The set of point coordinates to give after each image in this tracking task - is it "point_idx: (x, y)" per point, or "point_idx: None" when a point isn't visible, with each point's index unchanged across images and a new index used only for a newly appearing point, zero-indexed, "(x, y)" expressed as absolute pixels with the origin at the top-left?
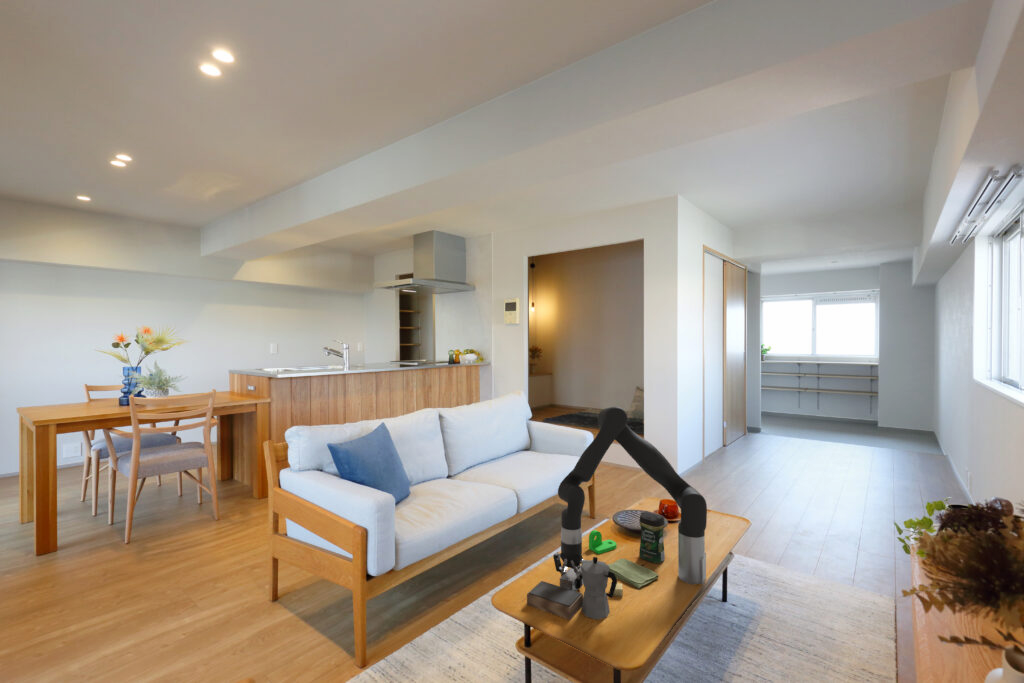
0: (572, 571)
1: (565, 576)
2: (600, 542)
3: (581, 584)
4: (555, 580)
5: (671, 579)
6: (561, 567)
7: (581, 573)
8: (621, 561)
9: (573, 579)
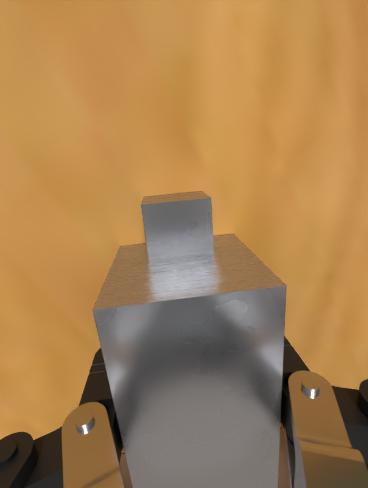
0: (173, 371)
1: (170, 483)
2: None
3: None
4: (16, 311)
5: None
6: (38, 485)
7: (334, 419)
8: None
9: (265, 473)
